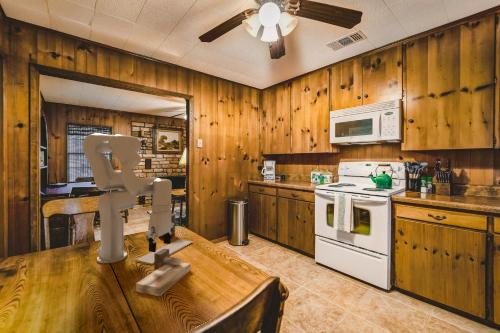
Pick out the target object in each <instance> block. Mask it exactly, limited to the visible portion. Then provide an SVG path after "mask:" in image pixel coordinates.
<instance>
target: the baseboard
mask: <svg viewBox="0 0 500 333" xmlns="http://www.w3.org/2000/svg"><path fill="white" fill-rule="evenodd" d="M187 239H188V238H187V237H182V238H180V237H179V236H178V238H177V239H176V240H175V241H173V242H171V243H170V244H166V245H164V246H162V247H160V248H158V249H156V252H149V253H147V254H144V255H142V256H140V257H139V258H138V257H137V258H136V259H134V262H137V263H141V264H145V265H150V266H152V265H153V266H154V254H155V253H157V252H158V251H160V250H162V249H169V256H171V255H173V254H174V253H177V252H179V251H180V250H182V248H183V249H184V248H186V247H188V246H190V245H191V244H190V243H192V242H193V243H194V240H191V239H188V240H187ZM193 243H192V244H193ZM189 244H190V245H189ZM187 245H188V246H187ZM185 246H186V247H185Z"/></svg>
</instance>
